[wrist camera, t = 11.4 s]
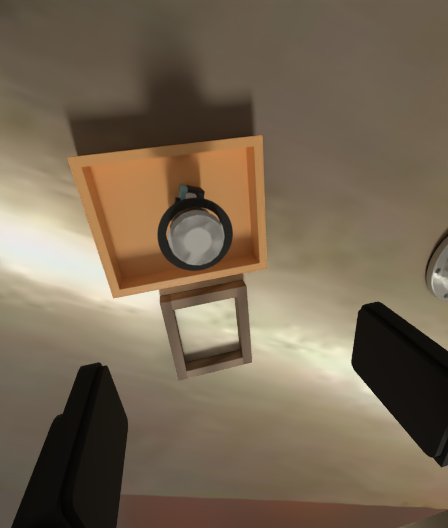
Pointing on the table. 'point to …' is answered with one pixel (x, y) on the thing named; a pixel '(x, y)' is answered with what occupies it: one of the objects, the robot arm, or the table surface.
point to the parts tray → (158, 201)
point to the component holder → (202, 297)
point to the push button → (194, 231)
